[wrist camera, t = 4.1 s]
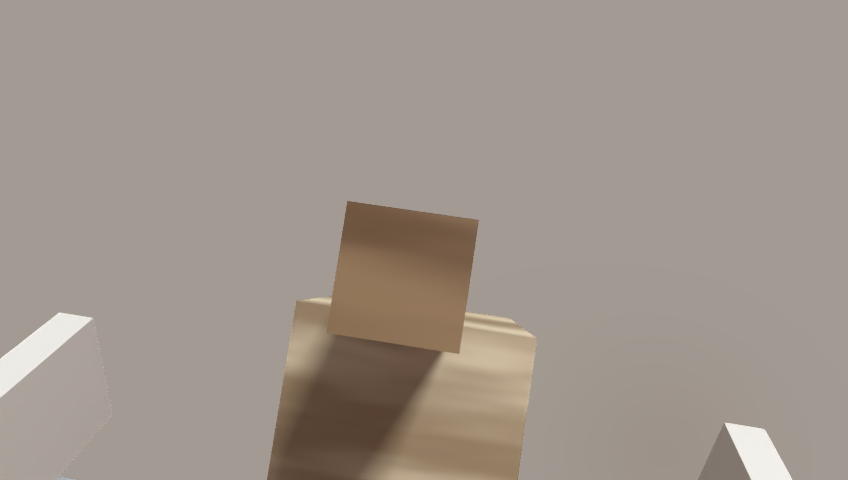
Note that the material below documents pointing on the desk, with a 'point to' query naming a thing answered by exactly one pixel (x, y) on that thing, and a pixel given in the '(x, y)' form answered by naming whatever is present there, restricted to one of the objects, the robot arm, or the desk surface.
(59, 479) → the grey block
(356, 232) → the walnut bar
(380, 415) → the birch stand
